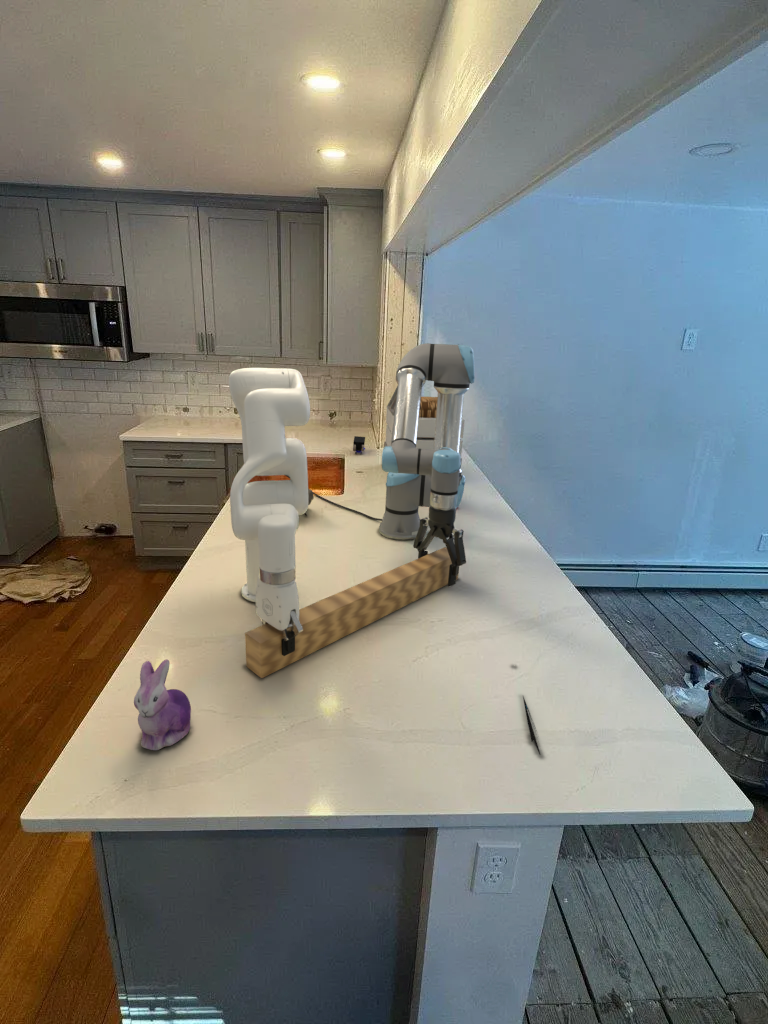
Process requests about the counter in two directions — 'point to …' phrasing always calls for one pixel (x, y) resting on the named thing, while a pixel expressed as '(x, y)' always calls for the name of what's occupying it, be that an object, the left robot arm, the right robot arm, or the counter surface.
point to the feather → (530, 725)
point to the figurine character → (358, 444)
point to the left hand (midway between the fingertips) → (279, 646)
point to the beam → (347, 612)
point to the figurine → (160, 708)
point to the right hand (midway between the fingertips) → (436, 578)
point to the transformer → (419, 423)
